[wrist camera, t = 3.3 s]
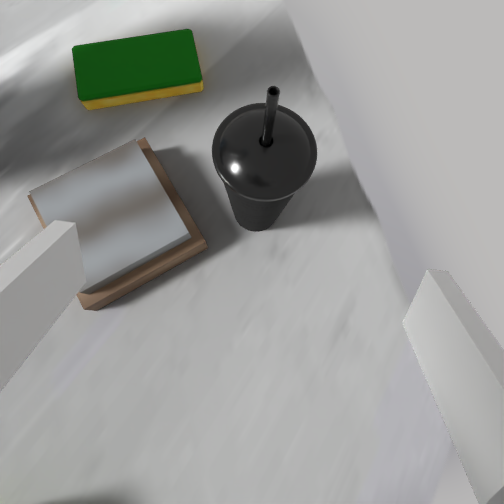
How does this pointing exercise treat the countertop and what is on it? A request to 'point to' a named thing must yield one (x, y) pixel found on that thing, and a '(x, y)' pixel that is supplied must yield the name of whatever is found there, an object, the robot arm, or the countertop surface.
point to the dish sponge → (137, 69)
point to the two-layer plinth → (121, 221)
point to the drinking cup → (263, 159)
